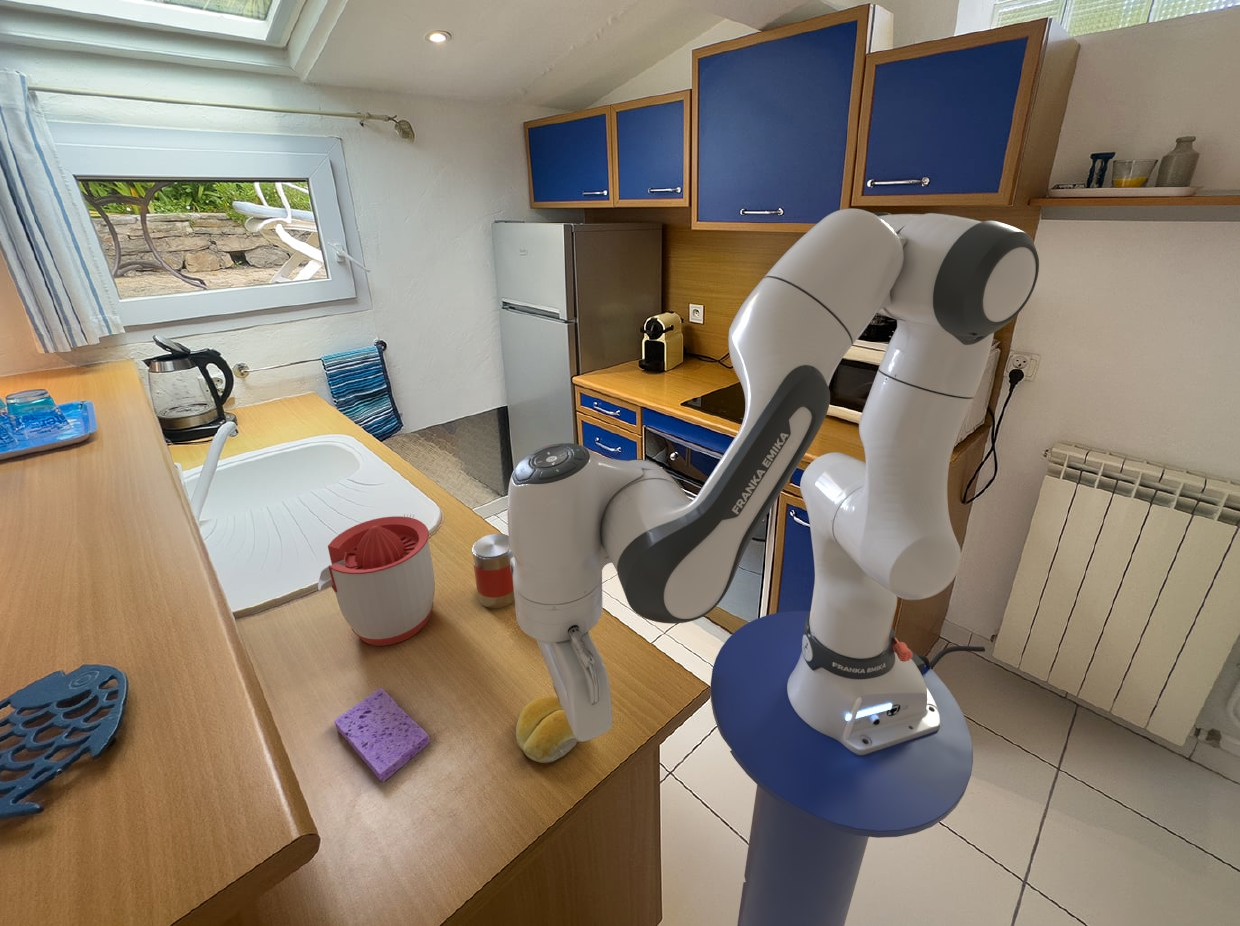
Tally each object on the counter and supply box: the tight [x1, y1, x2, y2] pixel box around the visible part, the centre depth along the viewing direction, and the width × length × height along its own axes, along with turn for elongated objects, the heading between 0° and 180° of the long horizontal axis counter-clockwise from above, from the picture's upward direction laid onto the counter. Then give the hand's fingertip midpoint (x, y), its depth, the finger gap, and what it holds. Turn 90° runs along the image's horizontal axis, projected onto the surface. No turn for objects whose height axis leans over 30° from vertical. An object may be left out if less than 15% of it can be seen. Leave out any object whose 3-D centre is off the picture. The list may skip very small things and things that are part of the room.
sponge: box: [333, 687, 431, 783], centre depth 75 cm, size 7×13×2 cm, turn 53°
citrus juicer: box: [317, 515, 436, 646], centre depth 91 cm, size 16×17×20 cm
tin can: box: [471, 533, 515, 609], centre depth 100 cm, size 8×8×11 cm
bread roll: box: [515, 695, 578, 764], centre depth 75 cm, size 8×9×4 cm
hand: (564, 695), depth 60 cm, fingers closed
